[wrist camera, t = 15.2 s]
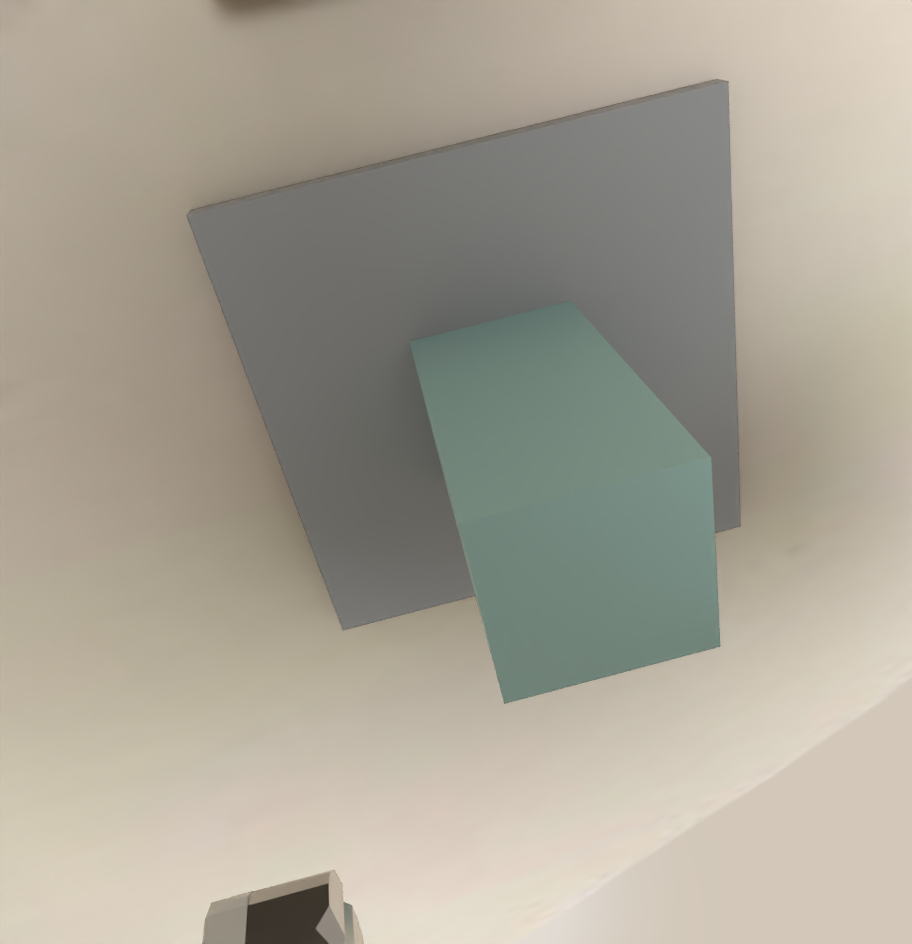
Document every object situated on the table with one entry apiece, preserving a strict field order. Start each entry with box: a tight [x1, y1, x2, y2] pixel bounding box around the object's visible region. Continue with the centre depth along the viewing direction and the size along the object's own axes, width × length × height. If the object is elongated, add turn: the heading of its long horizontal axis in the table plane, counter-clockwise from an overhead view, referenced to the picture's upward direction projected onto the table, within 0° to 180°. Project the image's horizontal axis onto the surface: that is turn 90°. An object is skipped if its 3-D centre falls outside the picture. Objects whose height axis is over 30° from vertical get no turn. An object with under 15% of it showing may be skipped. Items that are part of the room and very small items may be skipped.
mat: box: [187, 79, 741, 630], centre depth 20 cm, size 12×12×1 cm
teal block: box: [410, 301, 720, 704], centre depth 17 cm, size 4×4×8 cm
